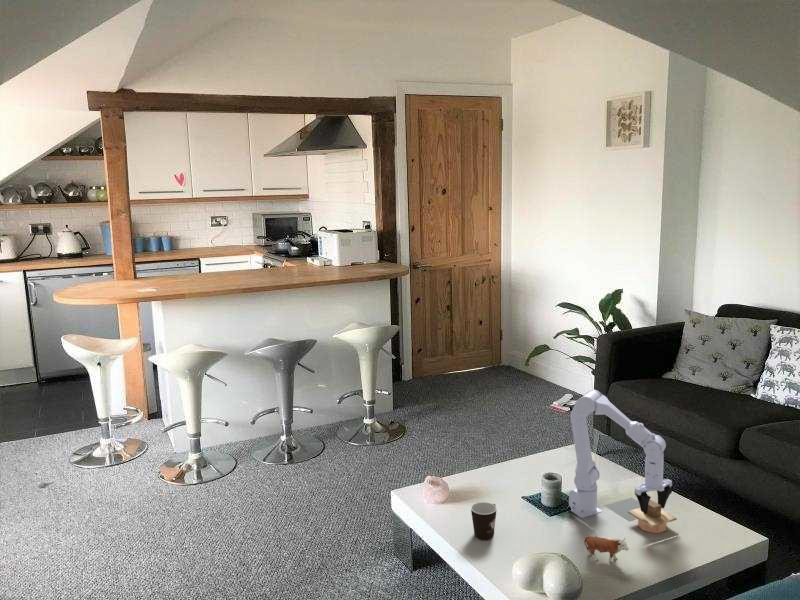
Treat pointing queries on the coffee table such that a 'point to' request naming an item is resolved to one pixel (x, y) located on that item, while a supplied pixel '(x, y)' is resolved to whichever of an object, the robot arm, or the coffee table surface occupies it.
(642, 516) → the oak lid
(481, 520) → the coffee mug
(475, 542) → the coffee table surface
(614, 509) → the mat
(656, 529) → the terracotta bowl
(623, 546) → the bull figurine
